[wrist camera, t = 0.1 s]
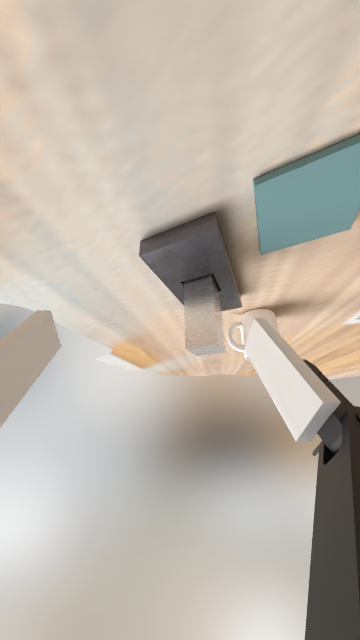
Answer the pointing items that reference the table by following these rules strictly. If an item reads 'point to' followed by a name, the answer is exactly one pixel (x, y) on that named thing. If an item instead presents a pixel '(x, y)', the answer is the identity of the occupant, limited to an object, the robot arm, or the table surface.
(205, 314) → the steel peg
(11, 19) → the table surface
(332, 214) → the teal mat
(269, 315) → the mug
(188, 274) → the block
